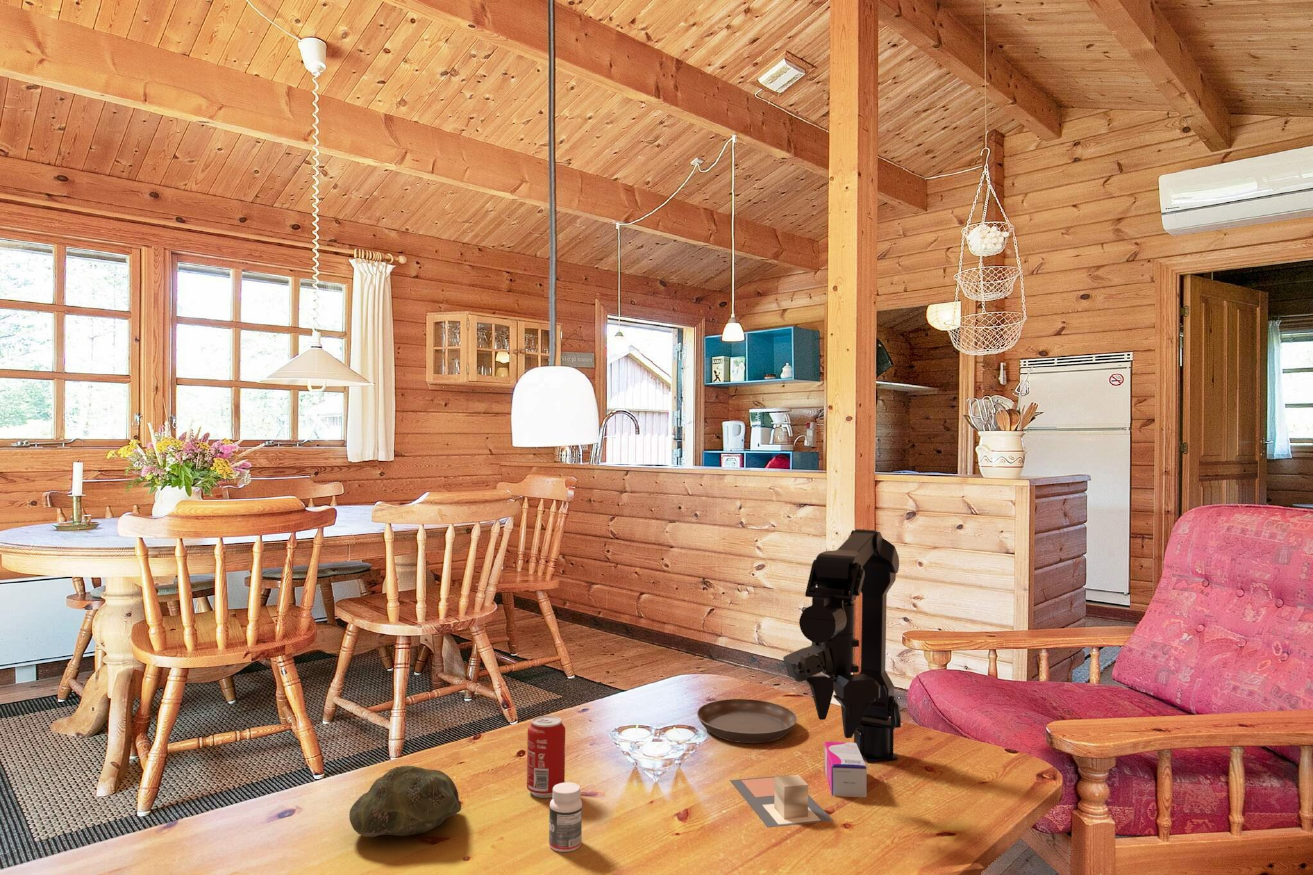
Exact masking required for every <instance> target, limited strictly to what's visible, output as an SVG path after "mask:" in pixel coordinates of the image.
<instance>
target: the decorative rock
mask: <svg viewBox="0 0 1313 875" xmlns="http://www.w3.org/2000/svg"><path fill="white" fill-rule="evenodd" d="M461 810H462V804H461V802H460V799H459V792H458V789H457V786H456V784H455V782H454V781H453V779H452V778H451V777H450V776H449V775H448V774H446V773H445V772H444V771H442V770H438V769H428V768H423V767H420V766H414V765H401V766H395V767H393V768H392V769H390V770H388V771H387V772H386V773H384V775H382V776H381V777H378V778H377V779H376V780H374V782H373V783H372V785H371V786H370V788H369V790H368V791H367V792H365V793H363V794H362V795H361V796H359V797H358V799H357V800H355V802H354V803H353V804H352V806H351V807H350V809H349V822H350V824H351V827H352V829H353V830H354V831H355V832H356V833H357V834H358V835H360V836H363V837H366V838H374V837H378V836H382V835H383V836H396V837H397V836H400V837H407V836H412V835H414V836H415V835H416V836H418V835H421V834H423V833H426V832H428V831H431V830H433V829H434V828H437V827H438V826H440V825H441V824H443V823H444V821H445V820H447V819H448V818H450V817H452V816H454V815H456V814H459V813H460V811H461Z"/></svg>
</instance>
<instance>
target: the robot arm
mask: <svg viewBox="0 0 1313 875" xmlns="http://www.w3.org/2000/svg"><path fill="white" fill-rule="evenodd" d="M899 568H900V558H899V553H898V551H897V548H896V546H895V544H892V543H891V542H890V541H888V540H886V539H885V538H883V536H882V533H881V531H878V530H876V529H862V528H856V529H853V530H851V532H850V536H849V537H848V538H847V539H846V540H845V541H844V542H843V543H842V544H841V545H840V546H839V547H838V548H837V549H835V550H826V551H822V552H820V553H818V554H817V556H816V558H815V559H813V561H812V563H811V567H810V572H809V577H808V581H807V585H806V590H805V594H804V595H805V596H804V597H807V598H812V599H811V601H812V602H811V605H809V606H807V607H806V608H805V609H804V610H803V611H802V612H801V614H800V617H799V621H798V622H799V623H798V624H799V628H800V631H801V633H802V635H803V636H804V637H805V638H806V639H807V640H809V641H811V645H808V646H805V647H803V648H800V649H797V650H795V651H793V652H791V653H789V654H786V655H785V656H783V657H782V659H783V662H784V665H785V668H786V672H787V674H788V675H787V676H788V678H789V677H790V678H792V679H794V680H795V682H798V683H799V682H800V683H801V682H804V681H805V682H806V683H807V684H808V685H809V688H810V690H811V694H812V698H813V701H814V706H815V710H816V713H817V716H818V719H819V720H820V721H823V720H824V721H825V720H826V719H827V716H828V713H829V710H830V707H831V704H832V698H834V699H835V700H836V701H837V702H838V704H839V705H840V707H841V719H842V720H841V721H842V728H843V735H844V738H845V739H851V738H853V743H856V744H857V746H858V748H859V751H860V753H861V755H862V758H863V760H864V762H865V761H866V762H868V763H872V762H883V761H884V762H885V761H895V760H898V759H899V756H898V755H896V754H895V753H894V734H895V732H894V730H895V729H899V728H901V727H902V715H901V710H900V709H901V708H900V706H899V702H898V698H897V696H895V685H894V683H893V681H892V680H891V678H890V676H889V674H888V672H887V670H886V658H887V657H886V651H887V649H886V646H887V645H886V644H887V600H888V599H887V596H888V595H887V594H888V592H889V591H890V589H891V588H892V586H893V585H894V584H895V582H896V581H897V580H896V577H897V574H898V572H899V570H900V569H899ZM860 594H861V595H860ZM859 596H861V635H860V636H861V638H860V640H861V641H860V640H859V639H857V638H855V601H856V599H857V598H858V597H859ZM860 642H861V644H860ZM858 647H860V665H858V664H856V663H855V662H854V661H855V648H858ZM859 669H860V670H859ZM854 673H856V674H854Z"/></svg>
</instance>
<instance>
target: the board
mask: <svg viewBox="0 0 1313 875" xmlns="http://www.w3.org/2000/svg"><path fill="white" fill-rule="evenodd" d="M789 775H790V774H787V775H786V774H784V775H783V776H789ZM777 776H778V775H775V776H762V777H751V778H740V779H730V780H729V782H730V783H731V785H733V787H734V788H735V789H736V790H737V791H738V793H739V795H741V796H742V798H743V799H744V800H745V801H746V803H747V804H748V805H749V807H750V808H751V809H752V810H753V811H754V813H755V814H756V815H757V817H758V818H759V819H760V821H762V822H763V824H764V825H765V826H766V827H767V828H776V827H777V828H778V827H788V826H794V825H795V826H797V825H805V824H815V823H825V822H834V821H835V820H834V818H832V816H830V815H829V814H828V813H827V812H826V810H824V809H823V807H822V806H820V805H819V804H818V803H817V802H816V801H815V800H814V799H813V798H812V796H810V795H809V794H808V817H801V818H791V819H783V817H782V816H781V815H780V814H779V813H778V812H777V811H776V809H775V808H774V795H775V777H777Z"/></svg>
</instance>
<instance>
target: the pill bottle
mask: <svg viewBox="0 0 1313 875" xmlns="http://www.w3.org/2000/svg"><path fill="white" fill-rule="evenodd" d="M580 797H581V786H580V785H579V784H578V783H575V782H567V781H566V782H565V783H559V784H557V785H555V786H554V787H553V794H552V797H551V800H550V801H549V819H548V820H549V821H548V822H549V824H548V827H549V828H548V829H549V831H548V832H549V833H548V845H549V847H550V849H552V850H553V851H555V852H559V853H569V852H574V851H576V850H578V849H579V848H580V847H581V845H582V842H583V841H582V839H583V837H582V831H583V830H582V829H583V828H582V827H583V826H582V825H583V824H582V822H583V801H582V799H581V798H580Z"/></svg>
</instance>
